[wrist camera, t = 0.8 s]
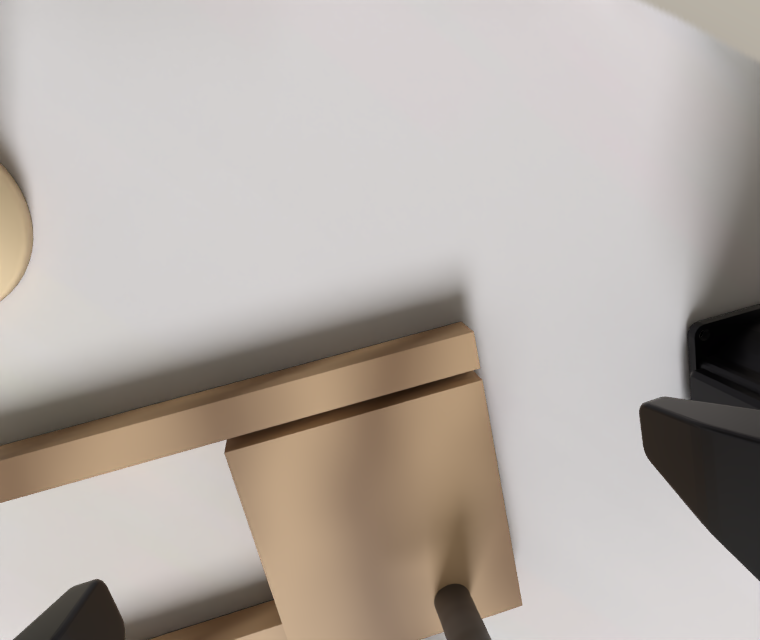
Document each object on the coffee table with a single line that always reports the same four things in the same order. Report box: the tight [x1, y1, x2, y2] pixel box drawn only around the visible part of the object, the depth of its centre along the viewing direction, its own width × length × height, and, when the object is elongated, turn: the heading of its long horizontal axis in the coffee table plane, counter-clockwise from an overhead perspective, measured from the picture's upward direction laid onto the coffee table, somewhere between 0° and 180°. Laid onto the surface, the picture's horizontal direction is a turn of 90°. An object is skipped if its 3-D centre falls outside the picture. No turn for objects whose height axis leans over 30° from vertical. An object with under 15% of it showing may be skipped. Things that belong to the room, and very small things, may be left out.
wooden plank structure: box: [0, 322, 522, 640], centre depth 20 cm, size 18×13×6 cm
